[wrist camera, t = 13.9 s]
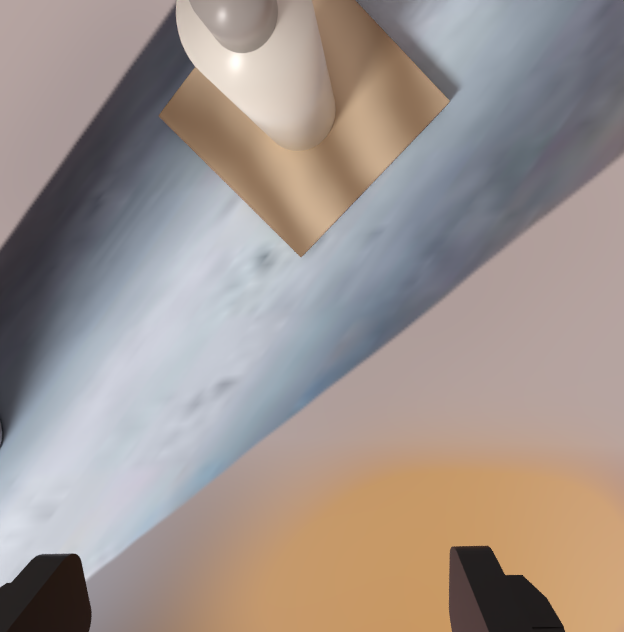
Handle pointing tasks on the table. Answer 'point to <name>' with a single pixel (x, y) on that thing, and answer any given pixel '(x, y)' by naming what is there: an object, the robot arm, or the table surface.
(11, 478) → the table surface
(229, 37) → the lotion bottle
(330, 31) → the oak board
